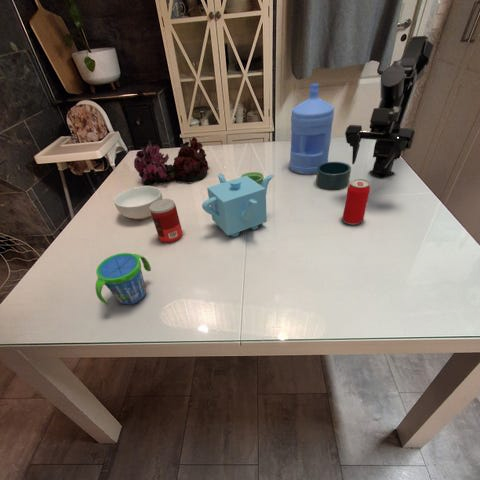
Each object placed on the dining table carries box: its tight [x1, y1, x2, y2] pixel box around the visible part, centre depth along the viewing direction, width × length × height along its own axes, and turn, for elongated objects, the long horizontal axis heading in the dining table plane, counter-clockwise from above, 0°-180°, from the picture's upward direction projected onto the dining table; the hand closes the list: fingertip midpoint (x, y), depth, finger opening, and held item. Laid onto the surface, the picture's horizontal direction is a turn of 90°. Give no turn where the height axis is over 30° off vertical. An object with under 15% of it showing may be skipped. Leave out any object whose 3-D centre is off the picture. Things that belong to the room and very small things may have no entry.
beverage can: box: [342, 178, 371, 225], centre depth 90 cm, size 6×6×12 cm
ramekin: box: [240, 171, 265, 185], centre depth 115 cm, size 9×9×4 cm
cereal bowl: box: [113, 185, 163, 220], centre depth 108 cm, size 17×17×7 cm
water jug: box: [289, 82, 335, 175], centre depth 115 cm, size 16×16×28 cm
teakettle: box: [201, 173, 275, 238], centre depth 93 cm, size 19×19×15 cm
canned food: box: [149, 198, 183, 244], centre depth 94 cm, size 8×8×11 cm
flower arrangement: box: [133, 136, 209, 186], centre depth 125 cm, size 31×20×15 cm, turn 101°
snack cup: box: [95, 252, 152, 306], centre depth 76 cm, size 16×10×10 cm
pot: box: [315, 161, 352, 191], centre depth 112 cm, size 12×12×6 cm
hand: (368, 165), depth 89 cm, fingers open, 9 cm apart
